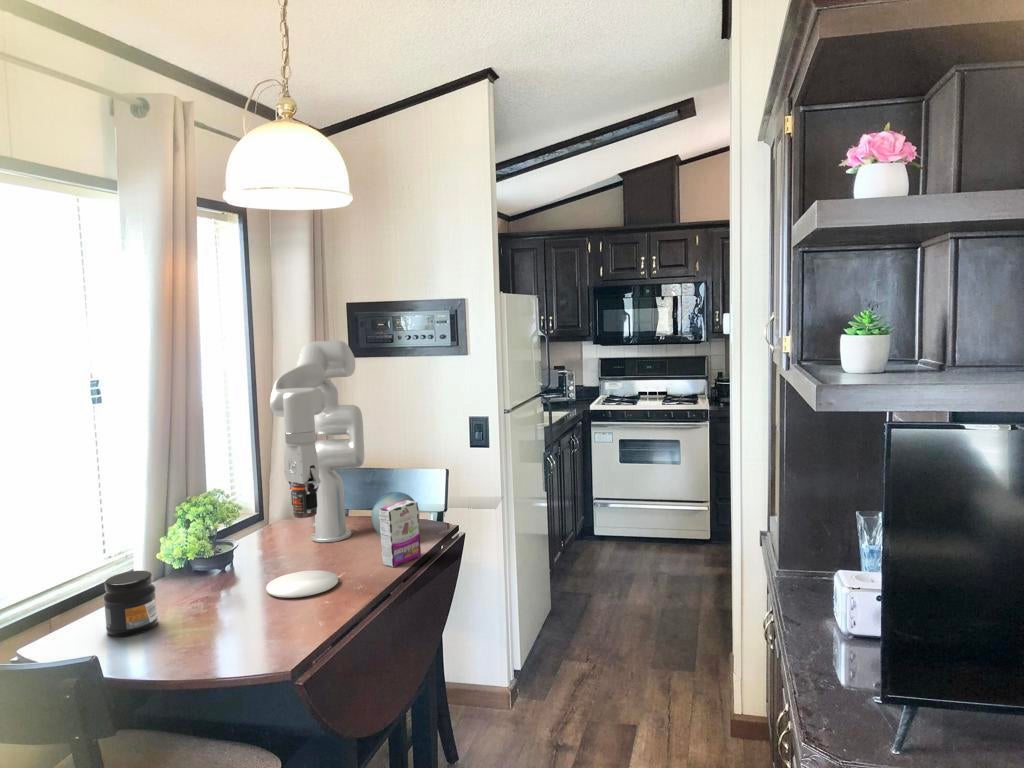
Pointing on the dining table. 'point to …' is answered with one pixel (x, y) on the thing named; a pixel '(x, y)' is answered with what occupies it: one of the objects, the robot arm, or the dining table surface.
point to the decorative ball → (386, 501)
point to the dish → (302, 584)
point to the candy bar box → (399, 533)
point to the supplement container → (130, 603)
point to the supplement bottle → (301, 502)
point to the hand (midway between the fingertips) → (304, 506)
